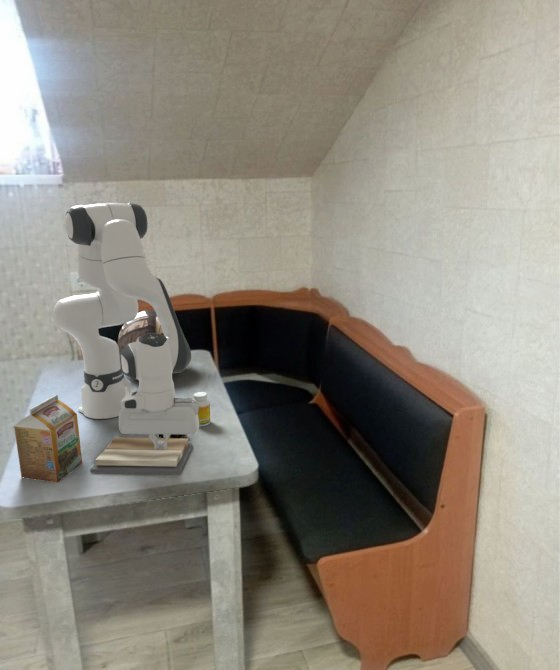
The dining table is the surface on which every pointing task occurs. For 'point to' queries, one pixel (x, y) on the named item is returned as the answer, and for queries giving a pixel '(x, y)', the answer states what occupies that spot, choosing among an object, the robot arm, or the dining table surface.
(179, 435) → the tape measure
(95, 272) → the robot arm
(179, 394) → the dining table surface
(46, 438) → the milk carton
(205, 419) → the supplement bottle
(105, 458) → the ash plank
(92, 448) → the dining table surface
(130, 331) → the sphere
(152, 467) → the board
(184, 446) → the oak plank
